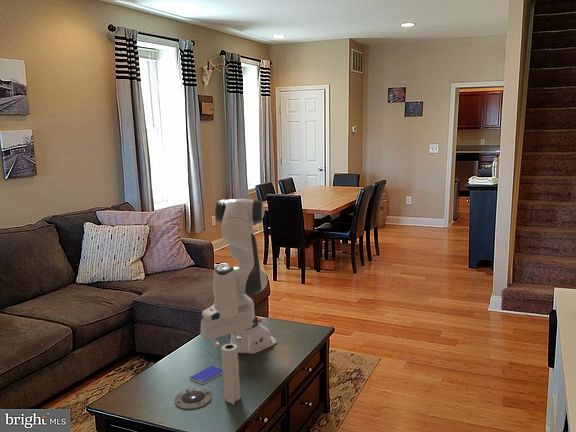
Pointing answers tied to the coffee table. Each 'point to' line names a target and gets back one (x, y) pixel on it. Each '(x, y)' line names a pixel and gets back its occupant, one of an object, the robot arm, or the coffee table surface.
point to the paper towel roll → (230, 373)
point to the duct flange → (193, 398)
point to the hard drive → (206, 375)
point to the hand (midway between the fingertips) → (228, 344)
